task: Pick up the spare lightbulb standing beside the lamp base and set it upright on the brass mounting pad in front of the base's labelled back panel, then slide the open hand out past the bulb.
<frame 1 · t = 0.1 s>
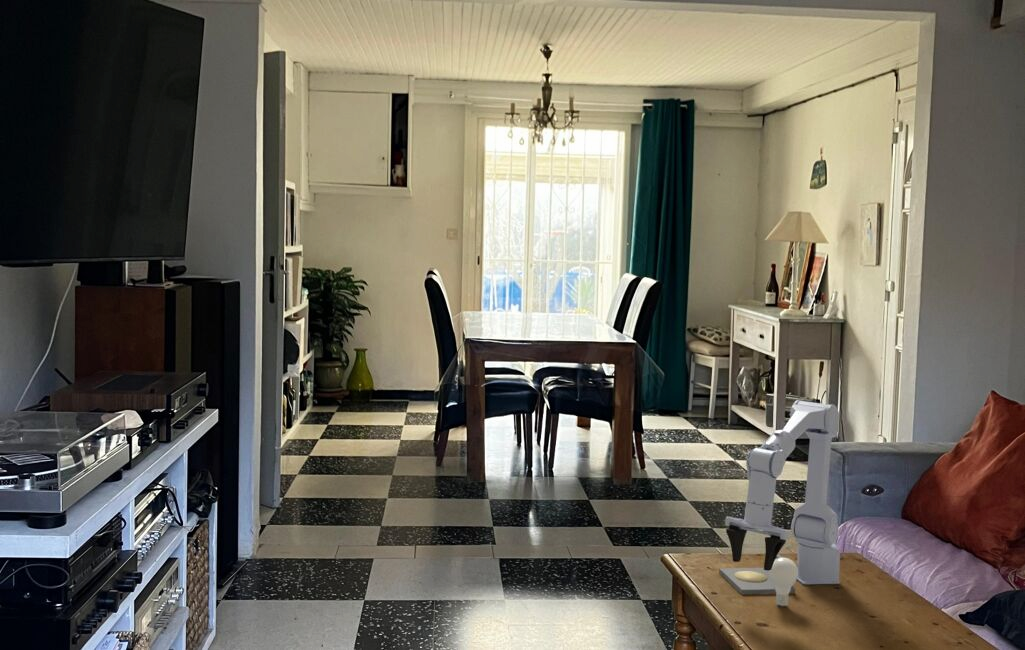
hand: (751, 565, 214), 11 cm above the table, tool pointing down, fingers open, 7 cm apart
lightbulb: (781, 607, 219), on the table
lamp base: (756, 583, 234), on the table
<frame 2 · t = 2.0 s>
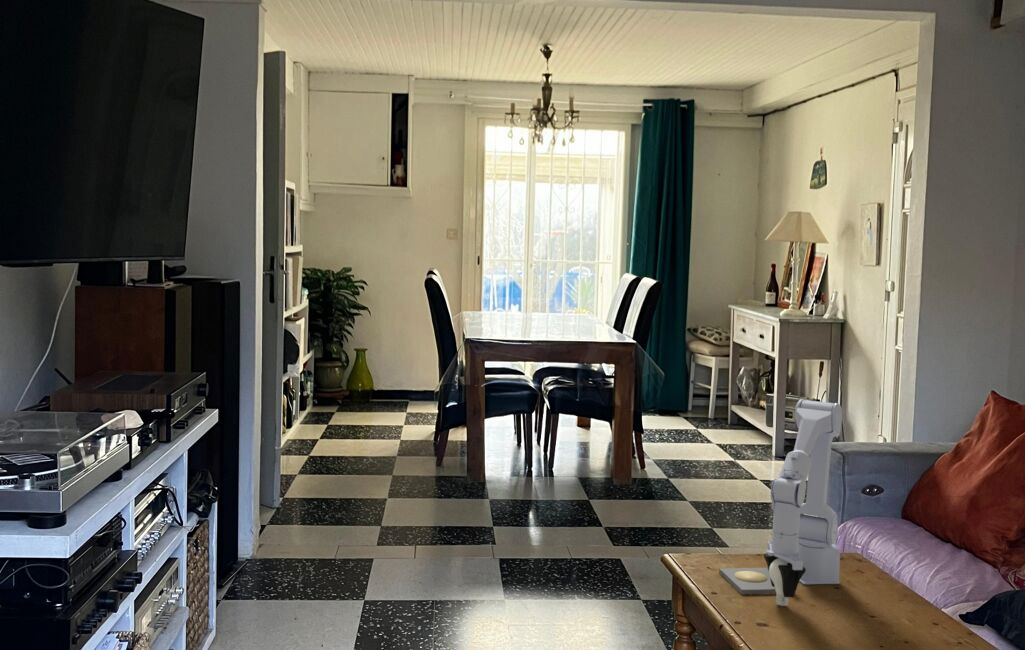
hand: (782, 591, 219), 3 cm above the table, tool pointing down, fingers closed on lightbulb, 6 cm apart
lightbulb: (781, 607, 219), on the table, touching gripper
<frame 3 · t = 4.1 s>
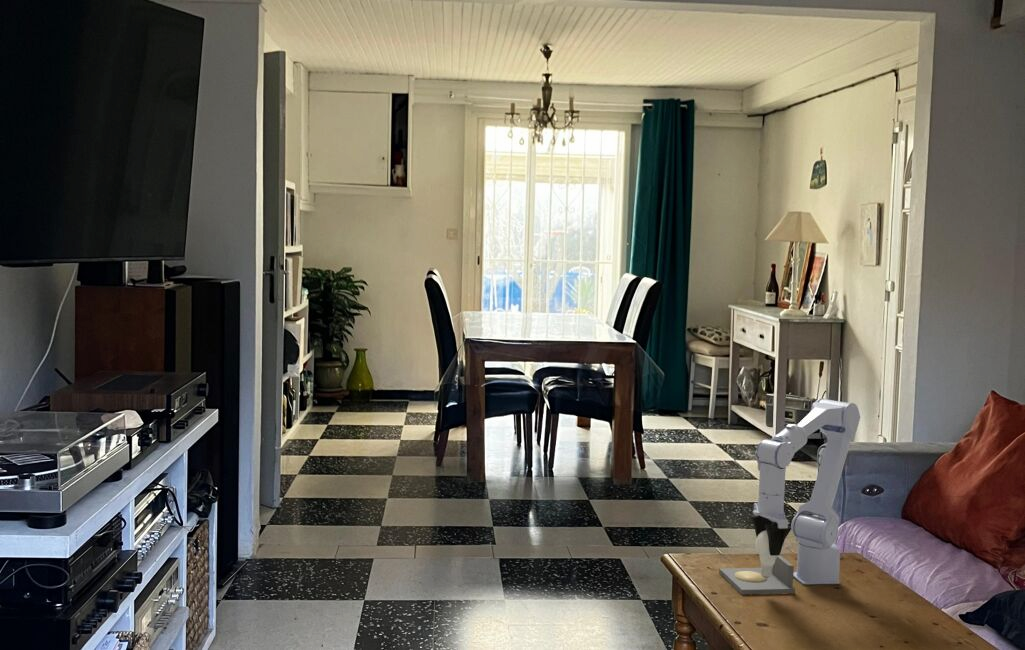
hand: (768, 550, 226), 10 cm above the table, tool pointing down, fingers closed on lightbulb, 6 cm apart
lightbulb: (765, 578, 226), point 4 cm above the table, touching gripper
when the fingers open (6 cm above the table, at t = 6.1 s): lightbulb stays where it is, resting on lamp base.
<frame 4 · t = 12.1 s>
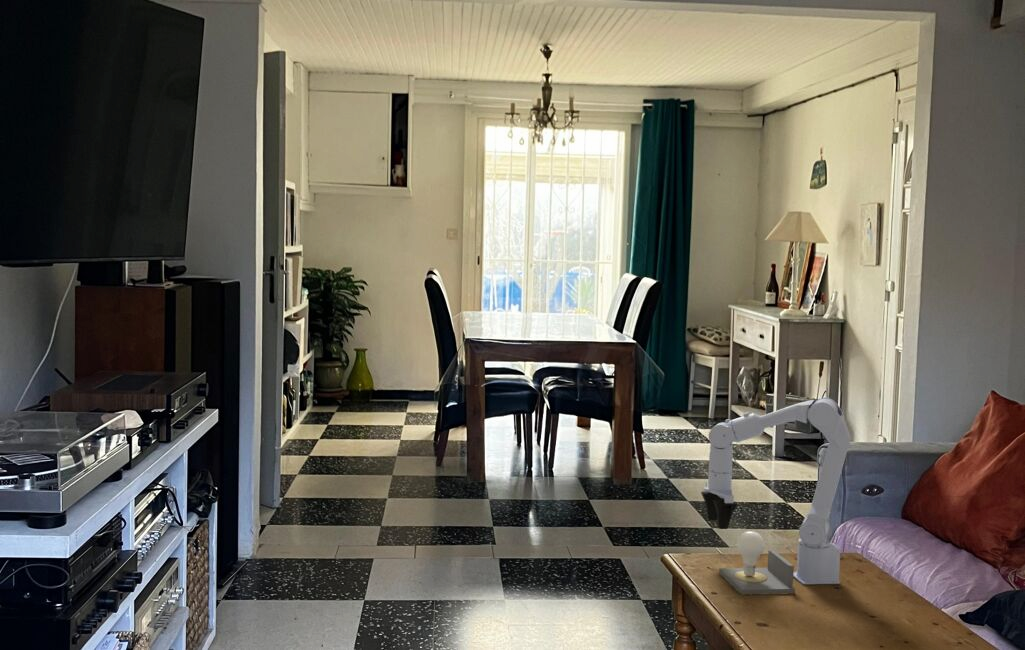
hand: (717, 524, 247), 10 cm above the table, tool pointing down, fingers open, 7 cm apart
lightbulb: (749, 577, 235), point 1 cm above the table, touching lamp base
at the end: lightbulb inside the target area on the lamp base (0.5 cm from its centre), point 1.2 cm above the lamp base's base; lightbulb tilted 0°; the gripper is holding nothing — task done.
